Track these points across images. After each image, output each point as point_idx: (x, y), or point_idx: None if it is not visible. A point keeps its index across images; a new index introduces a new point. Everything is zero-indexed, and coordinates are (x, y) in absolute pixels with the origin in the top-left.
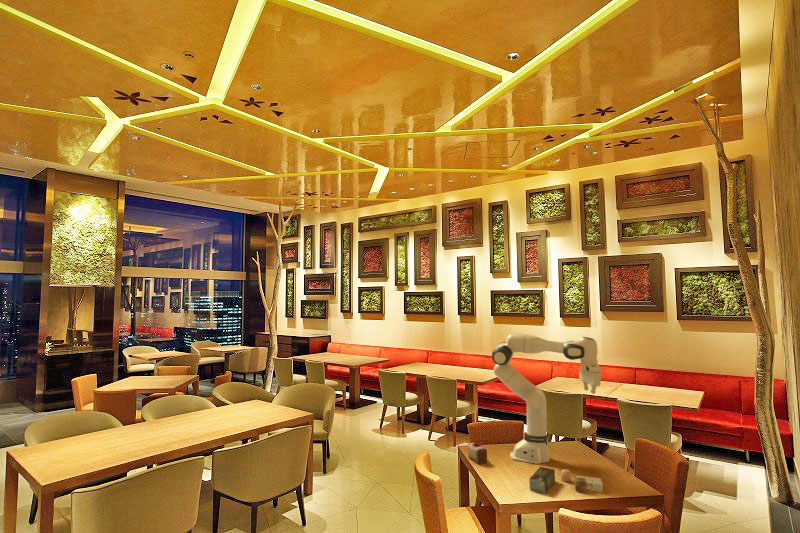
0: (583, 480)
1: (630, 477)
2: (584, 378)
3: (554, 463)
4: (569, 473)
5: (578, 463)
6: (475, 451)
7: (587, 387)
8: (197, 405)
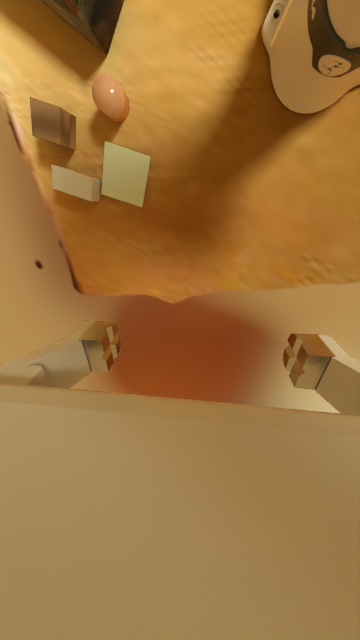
0: (41, 129)
1: (158, 291)
2: (355, 529)
3: (259, 119)
4: (96, 104)
5: (248, 209)
6: None
7: (295, 377)
8: None
